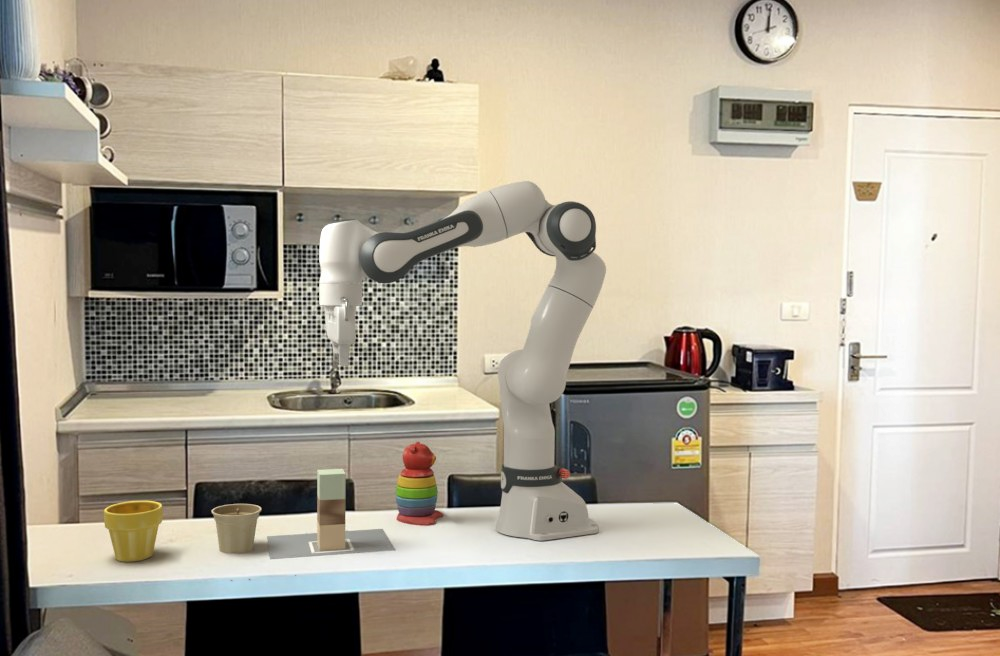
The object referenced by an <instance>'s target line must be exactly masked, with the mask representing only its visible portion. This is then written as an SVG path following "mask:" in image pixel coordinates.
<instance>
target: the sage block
mask: <svg viewBox="0 0 1000 656" xmlns="http://www.w3.org/2000/svg"><path fill="white" fill-rule="evenodd" d="M316 471H317V473H316V475H317V477H316V478H317V481H316V484H317V486H316V488H317V489H316V491H317V492H316V493H317V495H318V498H319V500H334V499H345V500H346V472H345V470H344V469H343V468H327V469H326V468H325V469H317V470H316ZM317 495H316V496H317Z"/></svg>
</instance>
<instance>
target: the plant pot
mask: <svg viewBox="0 0 1000 656" xmlns="http://www.w3.org/2000/svg"><path fill="white" fill-rule="evenodd" d="M103 518H104V519H103V521H104V527H105V529H106V530H108V533H109V536H110V541H111V545H112V548H113V553H114V556H115V560H117V561H118V562H122V563H123V562H127V563H130V562H132V563H133V562H139V561H144V560H148V559H150V558H151V557H152V556H153V555H154V552H155V551H154V550H155V546H156V545H155V544H156V542H157V535H158V529H159V526H160V524H162V523H163V504H162V503H161V502H159V501H158V502H157V501H152V500H131V501H123V502H118V503H115V504H111V505H109V506H107V507H106V508H104V510H103Z"/></svg>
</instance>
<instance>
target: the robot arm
mask: <svg viewBox="0 0 1000 656" xmlns="http://www.w3.org/2000/svg"><path fill="white" fill-rule="evenodd" d="M596 223H597V221H596V218H595V216H594V214H593V212H592V211H591V209H590V208H589V207H588V206H586V205H584V204H582V203H580V202H578V201H570V200H569V201H564V202H561V203H558V204H557V203H556V204H551V203H549V202H548V200H547V199H546V197H545V195H544V193H543V191H542V189H541V187H539V186H538V185H537V184H536V183H535V182H533V181H529V180H525V181H517V182H513V183H508V184H503V185H500V186H497V187H494V188H491V189H488V190H486V191H483V192H481V193H478V194H477V195H474V196H472V197H471V198H469V199H467V200H466V201H464V202H463V203H461V204H460V205H458V206H457V207H456V208H455V209H454V210H453V211H452V212H451V213H450V214H448V215H447V216H445V217H444V218H442V219H440V220H437V221H435V222H432V223H429V224H426V225H424V226H422V227H419V228H416V229H413V230H410V231H406V232H391V231H390V232H389V231H387V232H385V231H383V232H377V231H375V230H373V229H371V228H369V226H367V225H364V224H363V223H361V222H360V221H359V220H358V219H356V218H344V219H338V220H334V221H330V222H328V223H327V224H325V225H324V227H323V228H322V230H321V233H320V237H319V238H320V239H319V248H318V249H319V251H318V253H319V254H318V255H319V256H318V259H319V260H318V261H319V262H318V263H319V266H320V277H319V280H318V281H319V282H318V284H319V288H318V289H319V290H318V291H319V292H318V293H319V295H318V296H319V297H318V298H319V304H318V305H319V306H324V318H325V328H326V329H325V330H326V336H327V339H328V340H330V341H331V342H332V344H331V345H332V350H333V352H332V353H333V361H334V362H335V363H338V364H339V366H341V367H347V366H348V365H349V358H350V357H349V356H350V349H351V345H355V343H356V338H357V337H356V314H357V307H360V306H363V280H364V279H365V278H366V279H370V280H372V281H373V282H377V283H380V284H391V283H395V282H397V281H400V279H402V278H403V277H405V276H406V275H407V274H408V272H410V271H411V269H413V267H414V266H416V265H417V264H419V263H420V262H422V261H425V260H427V259H429V258H432V257H434V256H436V255H440V254H443V253H444V252H447V251H450V250H453V249H457V248H461V247H463V248H464V247H473V248H476V247H483V246H488V245H492V244H496V243H498V242H499V243H500V242H502V241H505V240H506V239H509V238H512V237H513V236H517V235H519V234H523V233H525V234H526V235H527V236H528V237H529V239H530V240H531V242H532V243H533V244H534V245H533V246H535V247H536V249H538V250H539V251H540V252H541V253H542V254H545V255H546V256H549V257H554V258H555V261H556V262H555V269H554V272H553V273H554V274H553V276H552V277H551V279H550V281H549V283H548V284H547V286H546V289H545V290H544V292H543V294H542V296H541V298H540V300H539V302H538V304H537V307H536V308H535V310H534V311H533V314H532V317H531V320H530V326H529V330H528V333H527V337H526V339H525V343H524V344H523V345H524V346H523V349H517V350H516V349H515V350H514V351H510V353H508V354H507V355H505V356H504V357H503V358H502V359H501V361H500V363H499V364H498V368H497V379H498V383H499V396H500V408H501V415H502V423H503V464H501V472H500V488H501V501H500V508H499V512H498V513H499V514H498V517H497V520H496V521H497V522H496V524H495V530H496V531H497V532H498V533H500V534H502V535H507V536H510V537H515V538H516V537H517V538H524V539H529V540H535V541H549V540H557V539H563V538H564V539H565V538H570V537H579V536H584V535H592V534H598V533H599V531H600V528H599V525H598V524H599V523H597V522H596V521H594V520H593V519H592V518H590V517H589V513H588V512H589V511H588V507H587V503H586V501H585V500H584V498H582V496H580V495H579V494H577V492H575V491H574V490H573V489H571V488H570V487H569V486H568V485H566V484H565V483H564V482H563V479H564V480H568V479H569V478H570V477H571V473H570V471H569V470H568V469H566V468H562V467H559V466H558V465H556V464H555V446H556V445H555V439H556V438H555V437H556V434H555V433H556V431H555V426H554V423H553V418H552V413H551V412H552V411H551V407H550V404H552V403H554V402H555V401H557V400H558V399H559V398H560V397H561V396H562V395H563V393H564V391H565V388H566V385H567V373H568V372H569V368H570V365H571V361H572V358H573V354H574V350H575V348H576V345H577V342H578V339H579V337H580V335H581V333H582V332H583V329H584V327H585V325H586V323H587V322H588V321H587V320H588V319H589V317H590V315H591V312H592V310H593V308H594V307H595V305H596V302H597V301H598V299H599V298H598V297H599V296H600V293H601V290H602V287H603V284H604V281H605V277H606V274H607V267H606V263H605V261H604V260H603V259H602V258H601V256H599V254H598V253H596V252H595V250H596V248H597V242H596V241H597V240H596V237H597V236H596V235H597V234H596V232H597V224H596Z"/></svg>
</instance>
